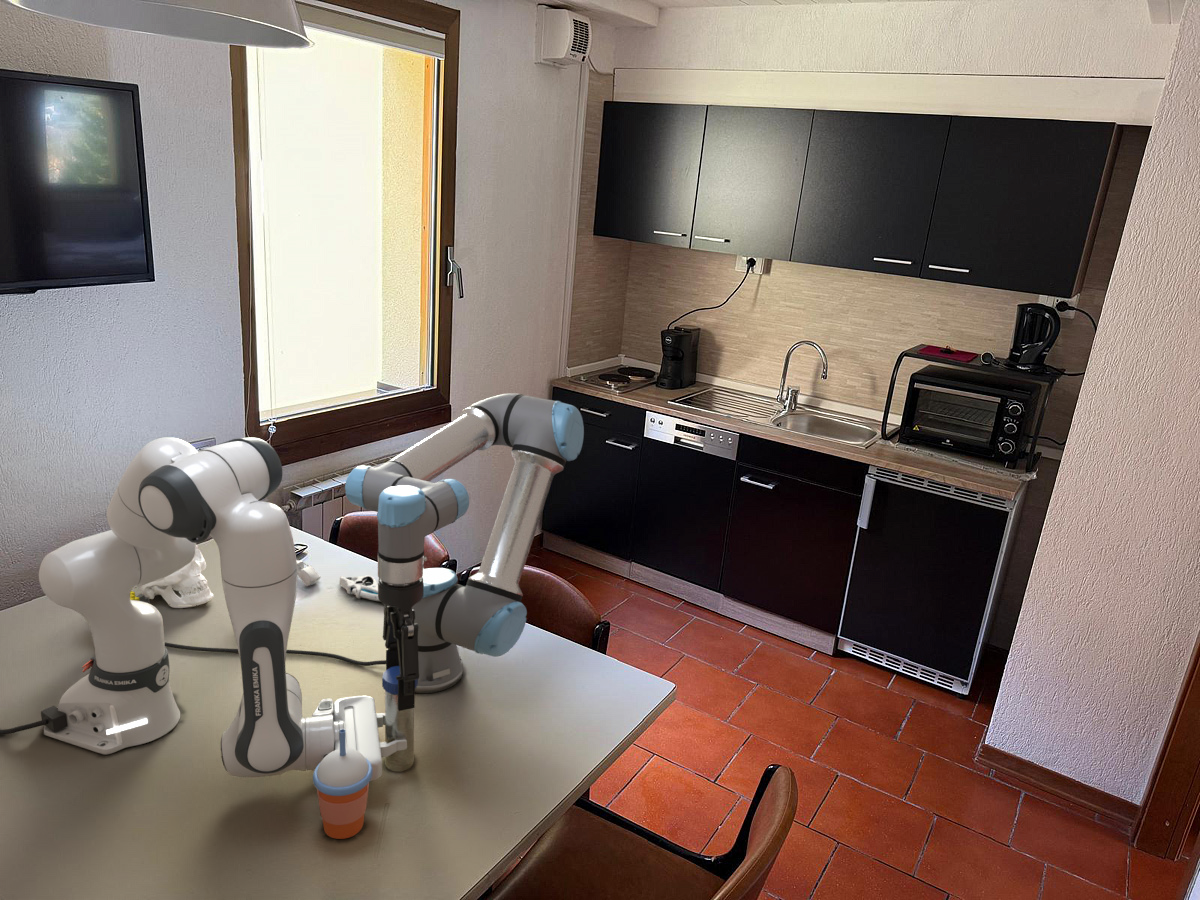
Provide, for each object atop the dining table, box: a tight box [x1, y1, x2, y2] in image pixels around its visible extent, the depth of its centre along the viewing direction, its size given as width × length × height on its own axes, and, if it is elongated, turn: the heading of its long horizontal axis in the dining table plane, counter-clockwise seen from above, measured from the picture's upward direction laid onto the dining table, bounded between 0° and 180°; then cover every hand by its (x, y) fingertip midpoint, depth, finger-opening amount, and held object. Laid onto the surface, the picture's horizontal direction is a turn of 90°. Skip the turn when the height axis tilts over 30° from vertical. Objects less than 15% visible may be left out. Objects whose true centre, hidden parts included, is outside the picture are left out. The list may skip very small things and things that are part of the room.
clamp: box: [296, 559, 322, 587], centre depth 219 cm, size 20×4×7 cm, turn 62°
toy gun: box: [338, 574, 380, 602], centre depth 214 cm, size 18×2×10 cm
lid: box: [381, 666, 418, 694], centre depth 149 cm, size 6×6×2 cm
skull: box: [137, 544, 214, 609], centre depth 203 cm, size 13×22×16 cm, turn 73°
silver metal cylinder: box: [384, 690, 415, 773], centre depth 152 cm, size 5×5×18 cm
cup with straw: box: [312, 729, 373, 840], centre depth 136 cm, size 9×9×18 cm
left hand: (404, 731), depth 153 cm, fingers closed on silver metal cylinder, 5 cm apart
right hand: (399, 694), depth 150 cm, fingers open, 8 cm apart
